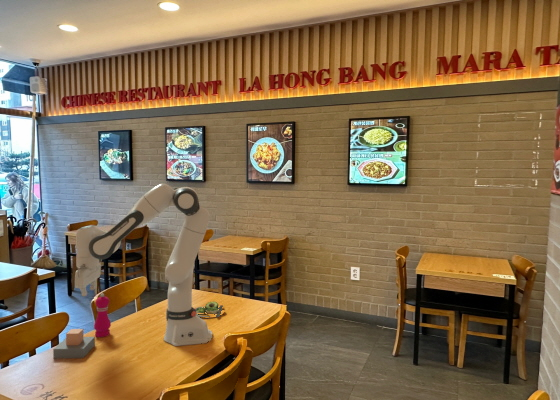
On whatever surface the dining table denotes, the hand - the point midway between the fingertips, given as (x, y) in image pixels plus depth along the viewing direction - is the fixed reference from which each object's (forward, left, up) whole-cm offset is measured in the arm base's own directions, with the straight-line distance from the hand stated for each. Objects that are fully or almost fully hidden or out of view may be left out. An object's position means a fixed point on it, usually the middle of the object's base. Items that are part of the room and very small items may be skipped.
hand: (88, 292), depth 172 cm
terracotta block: (+3, +7, -20) cm, 21 cm away
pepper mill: (-2, -11, -24) cm, 26 cm away
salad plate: (-50, -40, -24) cm, 68 cm away
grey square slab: (+3, +7, -24) cm, 25 cm away
